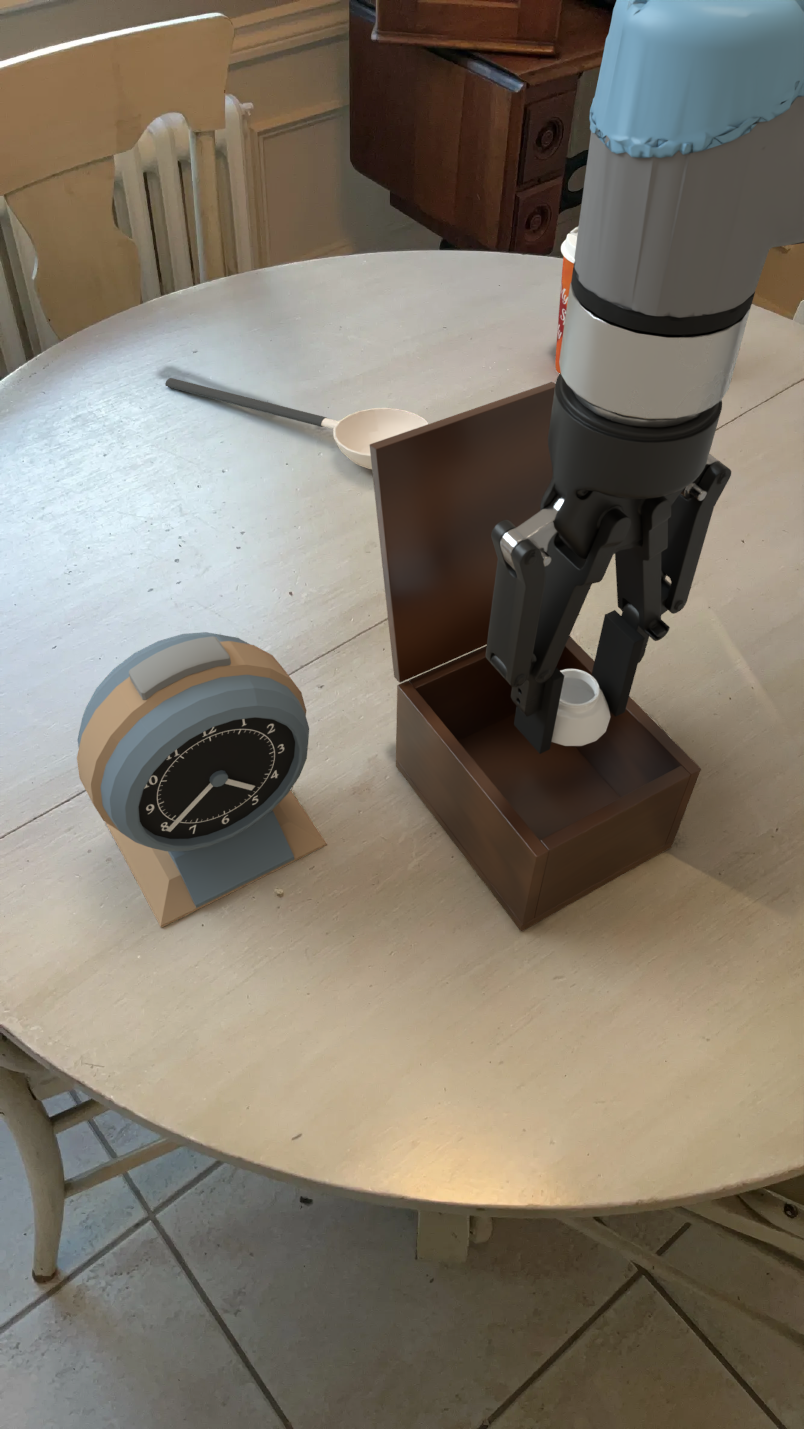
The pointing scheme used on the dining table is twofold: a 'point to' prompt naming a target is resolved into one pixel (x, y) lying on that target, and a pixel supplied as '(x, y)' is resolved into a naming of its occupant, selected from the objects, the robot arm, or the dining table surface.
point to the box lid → (454, 520)
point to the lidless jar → (580, 710)
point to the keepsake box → (537, 787)
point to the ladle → (327, 420)
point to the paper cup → (565, 286)
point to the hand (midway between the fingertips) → (569, 717)
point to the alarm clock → (198, 768)
